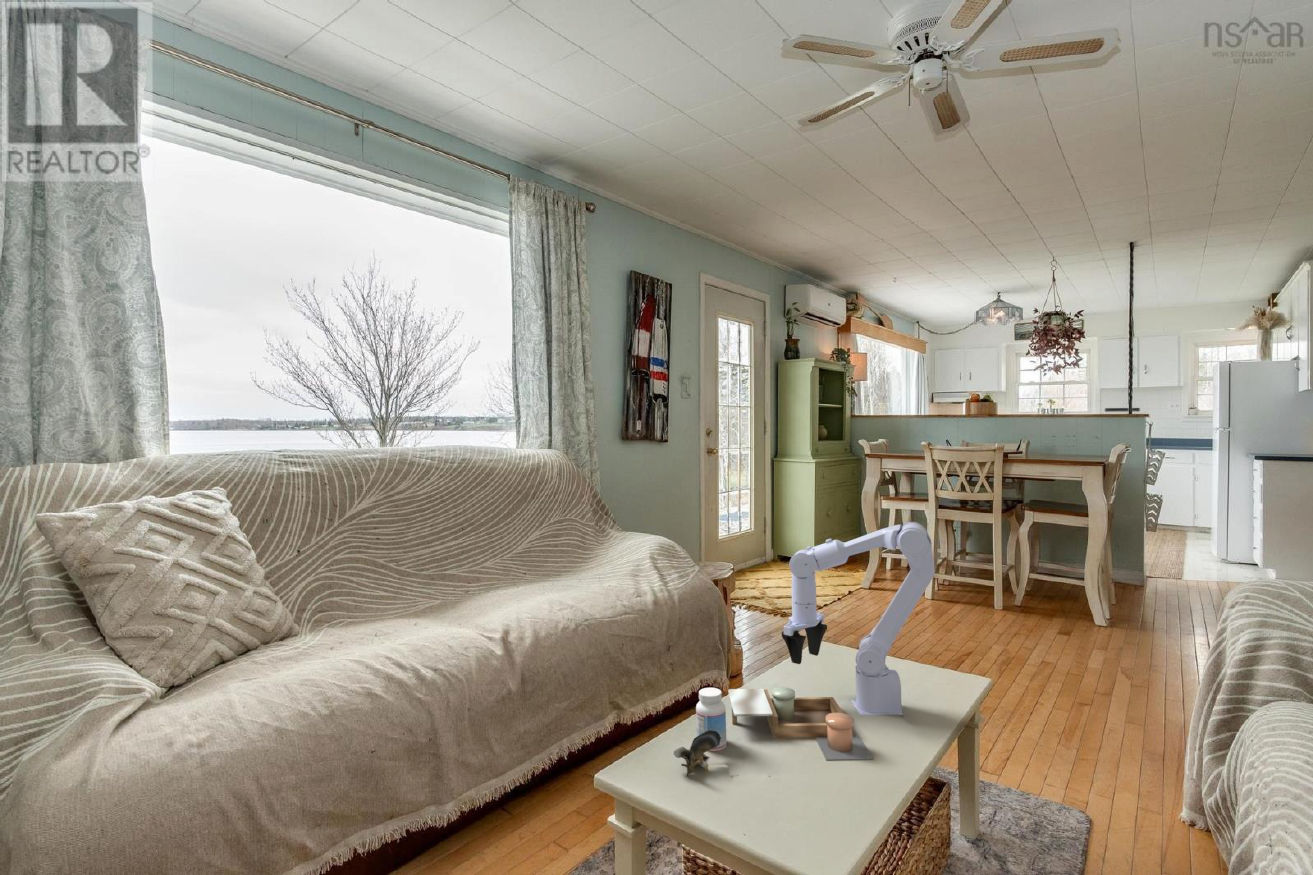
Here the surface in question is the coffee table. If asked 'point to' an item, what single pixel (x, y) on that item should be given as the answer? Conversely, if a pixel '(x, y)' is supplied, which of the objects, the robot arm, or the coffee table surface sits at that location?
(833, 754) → the slate tile
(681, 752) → the squirrel figurine
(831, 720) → the peach rounded knob
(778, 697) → the mint green knob
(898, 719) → the coffee table surface
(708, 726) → the pill bottle
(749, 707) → the cold frame
